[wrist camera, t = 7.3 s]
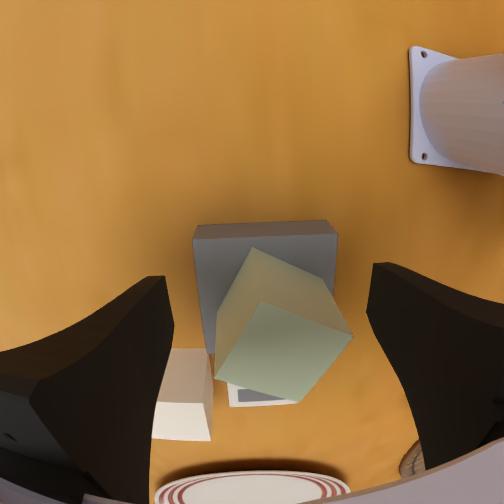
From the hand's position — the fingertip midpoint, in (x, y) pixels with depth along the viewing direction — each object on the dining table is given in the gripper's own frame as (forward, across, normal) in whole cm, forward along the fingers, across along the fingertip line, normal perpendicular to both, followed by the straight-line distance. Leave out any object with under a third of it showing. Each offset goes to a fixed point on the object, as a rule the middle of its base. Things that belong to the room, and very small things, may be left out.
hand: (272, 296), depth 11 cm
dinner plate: (+10, +2, +40) cm, 41 cm away
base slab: (+10, 0, +4) cm, 11 cm away
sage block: (+7, 0, +4) cm, 8 cm away
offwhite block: (+9, +6, +12) cm, 17 cm away
